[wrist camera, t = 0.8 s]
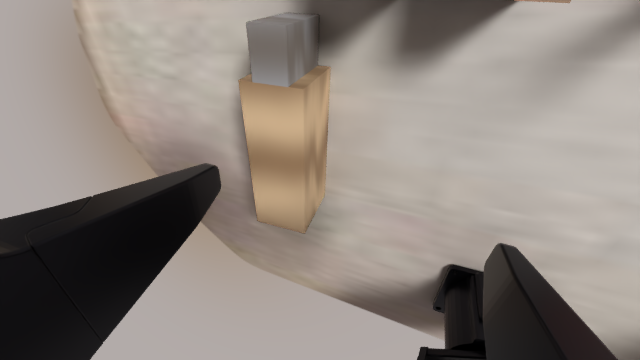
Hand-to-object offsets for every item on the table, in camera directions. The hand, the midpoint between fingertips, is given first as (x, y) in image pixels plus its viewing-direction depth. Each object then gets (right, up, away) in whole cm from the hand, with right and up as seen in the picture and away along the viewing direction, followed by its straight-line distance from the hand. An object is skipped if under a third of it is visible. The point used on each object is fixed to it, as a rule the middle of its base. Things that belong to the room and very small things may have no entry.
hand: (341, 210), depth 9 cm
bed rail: (-2, +6, +13) cm, 14 cm away
